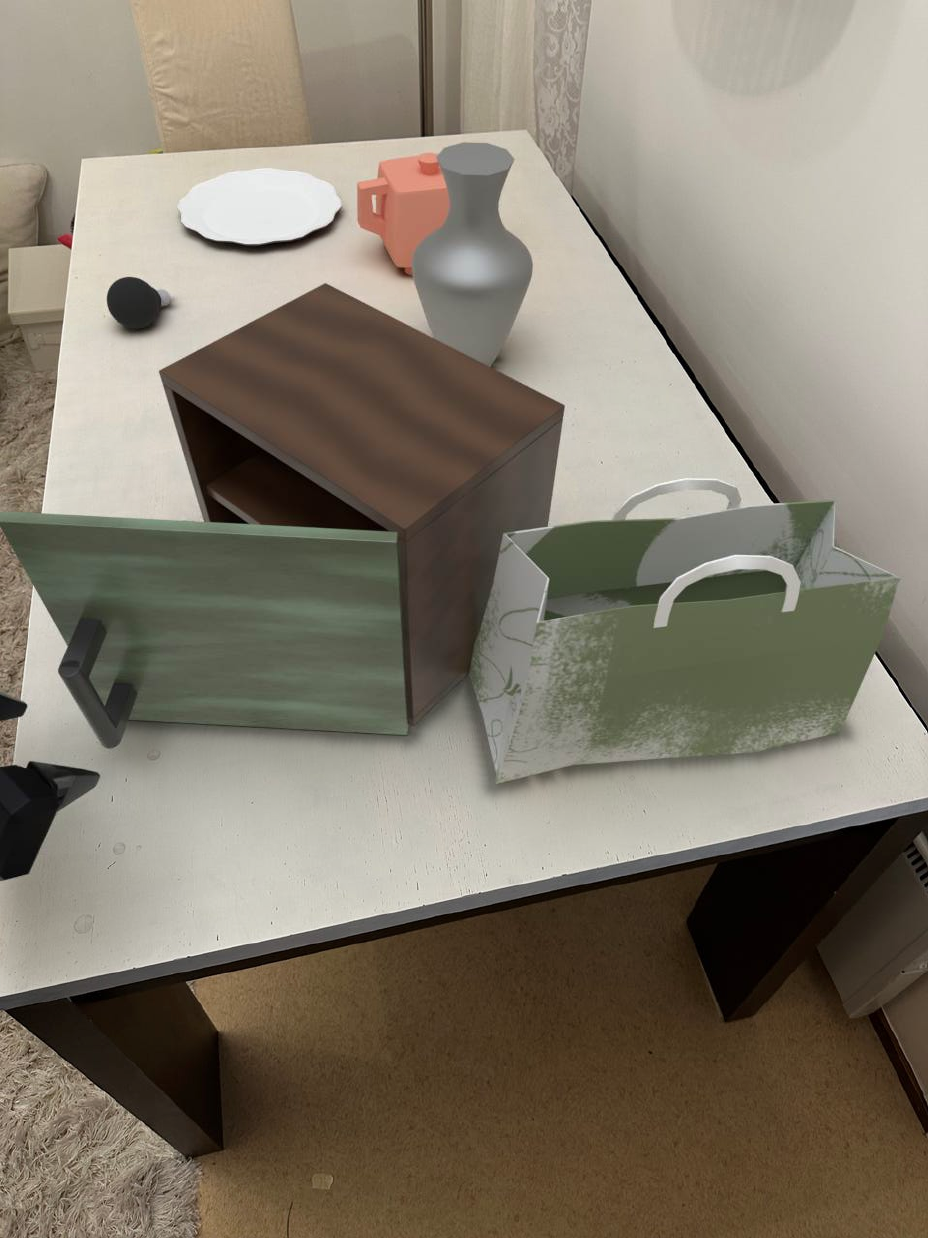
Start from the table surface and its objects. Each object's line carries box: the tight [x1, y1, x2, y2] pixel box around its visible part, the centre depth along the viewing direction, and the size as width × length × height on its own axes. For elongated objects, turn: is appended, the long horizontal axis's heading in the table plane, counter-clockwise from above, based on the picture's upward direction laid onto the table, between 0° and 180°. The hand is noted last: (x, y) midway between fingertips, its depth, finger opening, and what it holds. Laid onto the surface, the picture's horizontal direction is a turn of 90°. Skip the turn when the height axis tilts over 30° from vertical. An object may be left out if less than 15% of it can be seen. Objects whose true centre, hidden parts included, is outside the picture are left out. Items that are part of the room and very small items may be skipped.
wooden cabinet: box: [158, 282, 566, 726], centre depth 75 cm, size 18×26×24 cm
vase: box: [411, 141, 534, 368], centre depth 100 cm, size 14×14×25 cm
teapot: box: [356, 152, 449, 276], centre depth 121 cm, size 22×13×14 cm, turn 108°
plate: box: [176, 167, 343, 247], centre depth 133 cm, size 25×25×2 cm
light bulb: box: [106, 276, 172, 330], centre depth 112 cm, size 6×6×10 cm
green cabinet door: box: [0, 510, 409, 750], centre depth 63 cm, size 6×26×24 cm, turn 87°
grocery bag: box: [468, 477, 901, 785], centre depth 68 cm, size 32×14×23 cm, turn 100°
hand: (59, 743), depth 62 cm, fingers open, 9 cm apart
